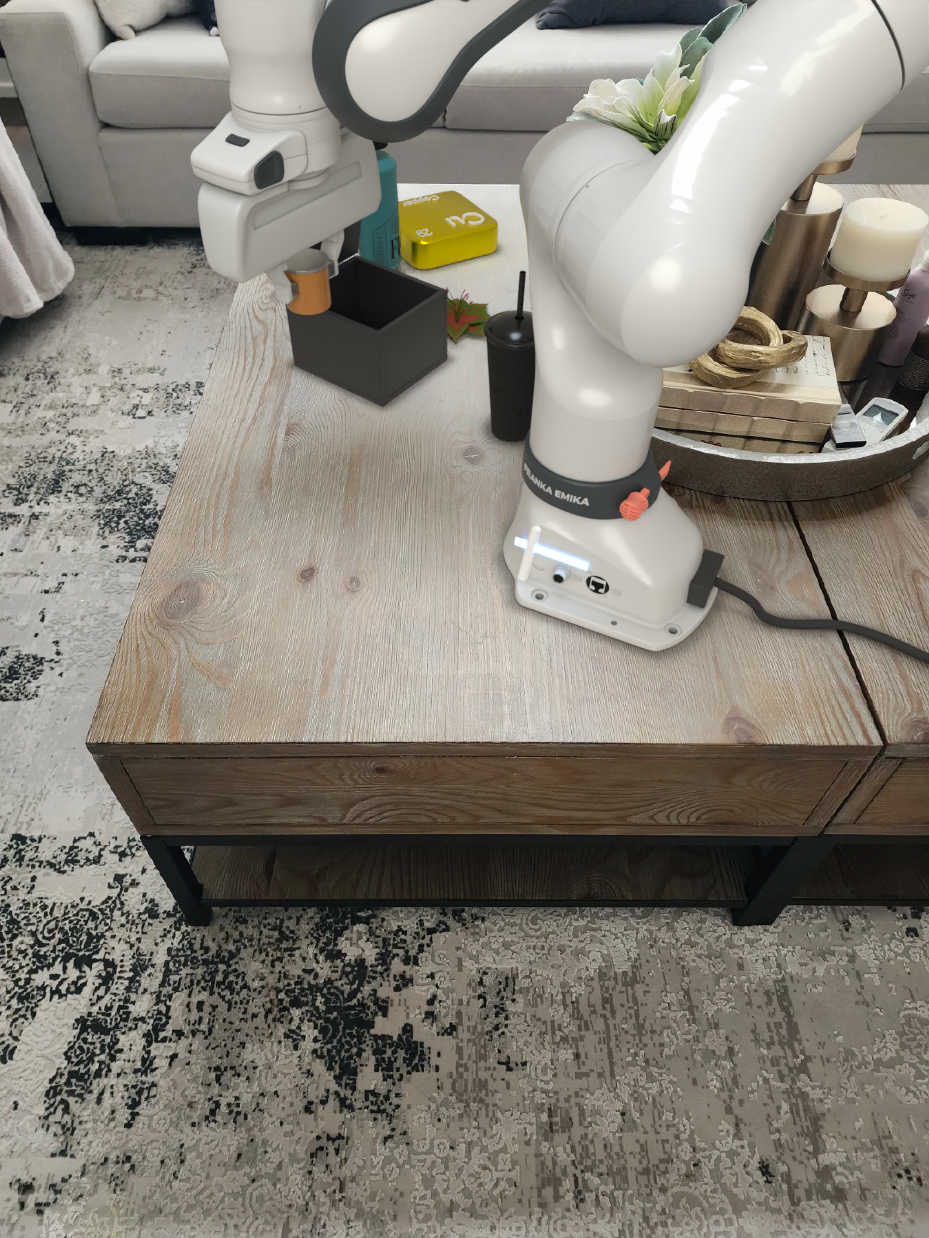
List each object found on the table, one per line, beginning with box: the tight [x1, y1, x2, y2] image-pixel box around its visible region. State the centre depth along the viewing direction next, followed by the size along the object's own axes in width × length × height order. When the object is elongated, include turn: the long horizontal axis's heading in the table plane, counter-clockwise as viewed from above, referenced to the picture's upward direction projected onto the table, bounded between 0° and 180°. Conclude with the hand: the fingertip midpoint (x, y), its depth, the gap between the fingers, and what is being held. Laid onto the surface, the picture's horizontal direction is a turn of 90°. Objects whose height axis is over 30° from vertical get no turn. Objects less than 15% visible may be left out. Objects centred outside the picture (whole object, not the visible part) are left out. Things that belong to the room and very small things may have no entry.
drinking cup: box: [483, 270, 535, 443], centre depth 96 cm, size 8×8×20 cm
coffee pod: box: [283, 248, 331, 315], centre depth 83 cm, size 5×5×4 cm
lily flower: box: [445, 287, 492, 343], centre depth 118 cm, size 12×12×5 cm
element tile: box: [398, 190, 499, 271], centre depth 134 cm, size 15×15×5 cm
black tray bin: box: [284, 254, 449, 407], centre depth 109 cm, size 15×14×10 cm
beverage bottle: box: [357, 141, 403, 270], centre depth 121 cm, size 6×7×20 cm
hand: (307, 288), depth 83 cm, fingers closed on coffee pod, 4 cm apart
